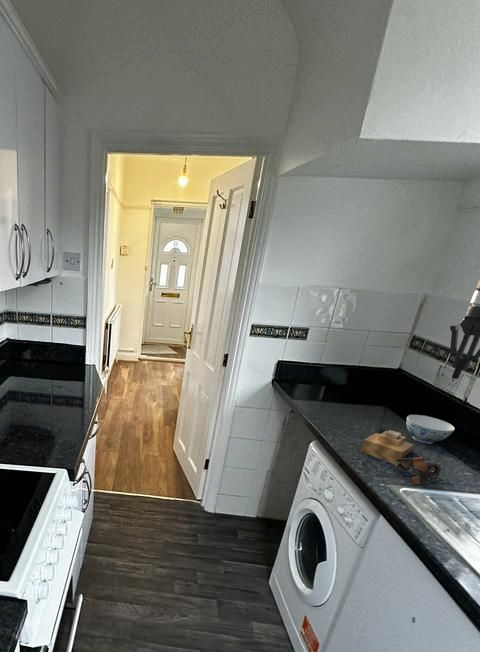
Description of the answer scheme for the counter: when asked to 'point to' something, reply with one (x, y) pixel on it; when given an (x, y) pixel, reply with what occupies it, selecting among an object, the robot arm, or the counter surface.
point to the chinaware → (428, 428)
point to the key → (393, 434)
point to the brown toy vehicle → (418, 468)
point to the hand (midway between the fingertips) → (455, 377)
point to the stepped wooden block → (386, 447)
